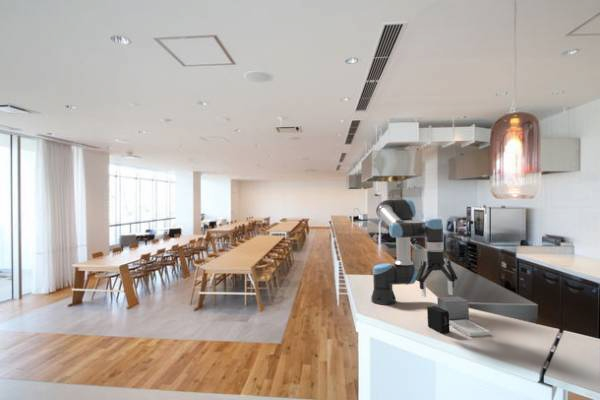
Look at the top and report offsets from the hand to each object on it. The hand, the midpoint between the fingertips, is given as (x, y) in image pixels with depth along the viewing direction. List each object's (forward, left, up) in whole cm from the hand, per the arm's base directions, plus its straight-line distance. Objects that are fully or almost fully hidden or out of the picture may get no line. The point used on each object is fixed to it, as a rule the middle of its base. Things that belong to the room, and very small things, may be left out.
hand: (437, 295), depth 147 cm
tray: (+2, +14, -16) cm, 22 cm away
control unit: (-11, +15, -16) cm, 25 cm away
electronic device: (0, 0, -17) cm, 17 cm away
